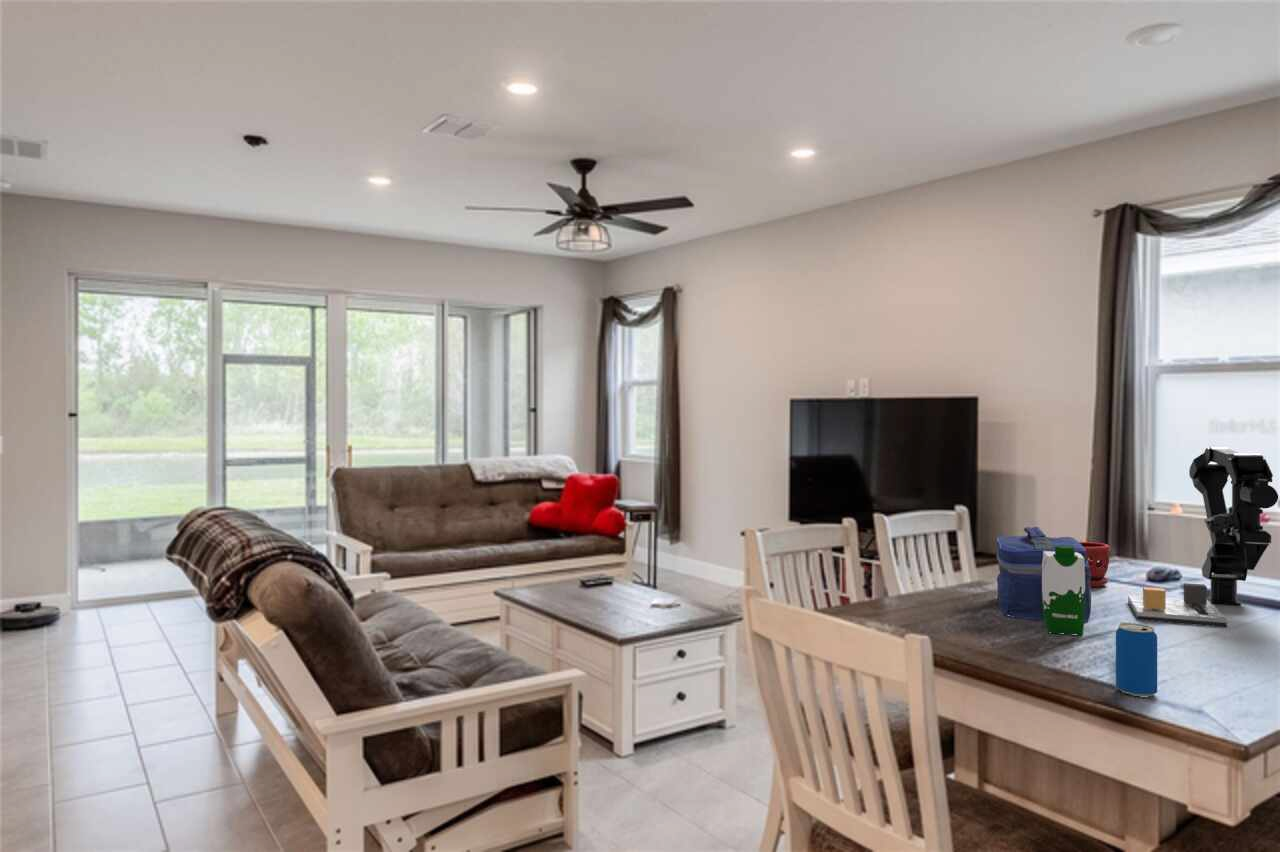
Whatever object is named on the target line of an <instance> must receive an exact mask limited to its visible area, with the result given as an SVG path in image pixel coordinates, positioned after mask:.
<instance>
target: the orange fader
mask: <svg viewBox="0 0 1280 852" xmlns="http://www.w3.org/2000/svg"><path fill="white" fill-rule="evenodd" d="M1142 596H1143V606H1144V608H1151V611H1157V609H1164V610H1166V598H1167V597H1166V589H1165V588H1161V587H1146V586H1143V587H1142Z"/></svg>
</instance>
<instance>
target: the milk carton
mask: <svg viewBox="0 0 1280 852" xmlns="http://www.w3.org/2000/svg"><path fill="white" fill-rule="evenodd" d="M1042 610H1043V616H1044V620H1043V621H1044V623H1043V624H1044V627H1045V626H1046V627H1045V628H1047V629H1046V630H1048V631H1047V632H1048V633H1049V632H1051V633H1064V634H1077V635H1076V636H1079V635H1083V634H1084V627H1085V626H1084V625H1085V621H1084V619H1085V561H1084V557H1083V556H1082V555H1081V554H1079V553H1076V552H1075V548H1074V547H1072V546H1064V545H1058V546H1055V552H1051V551H1043V560H1042ZM1064 634H1063V635H1064Z"/></svg>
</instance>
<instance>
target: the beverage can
mask: <svg viewBox="0 0 1280 852" xmlns="http://www.w3.org/2000/svg"><path fill="white" fill-rule="evenodd" d="M1134 623H1135V622H1126V623H1123V624H1121V623H1119V624H1118V628H1117V629H1116V630H1115V687H1116V689H1118V690H1121V691H1122V692H1124V693H1127V694H1131V695H1136V696H1151V695H1152V696H1154V695H1155V694H1158V635H1157V633H1156V632H1155V628H1154V627H1153V626H1150V625H1145V624H1142V623H1135V624H1134ZM1121 691H1120V692H1121ZM1122 692H1121V693H1122ZM1124 693H1123V694H1124ZM1152 696H1151V697H1152Z"/></svg>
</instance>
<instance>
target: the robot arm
mask: <svg viewBox="0 0 1280 852" xmlns="http://www.w3.org/2000/svg"><path fill="white" fill-rule="evenodd" d="M1188 474H1189V478H1190V479H1191V480H1192V484H1193V487H1194V488H1195V489H1196V490H1197V491H1198V492H1199V493H1200V494H1201V495H1202V498H1203V504H1204V509H1205V516H1206V517H1205V518H1204V519H1203V520H1204V523H1205V526H1206V528H1207V530H1208V532H1209V536H1210V540H1211V546H1210V547H1209V549H1208V552H1207V553H1206V559H1205V561H1204V563H1203V565H1202V567H1201V575H1202V577H1203V578H1205V579H1207V580H1210V596H1207V601H1210V602H1211V603H1212V604H1223V605H1235V606H1237V605H1238V606H1241V605H1242V602H1240V601H1239V600H1238V581H1240V582H1241V581H1242V582H1246V580H1247V578H1248V577H1247V576H1248V570H1249V571H1254V570H1255V569H1256V566H1257V564H1258V563H1259V561H1260V559H1262V556H1263V555H1264V553H1265V551H1266V549H1267V548H1268V547H1269V546H1270V544H1272V535H1271V534H1270V533H1269V532H1268V531H1266V530H1264V529H1263V528H1264V527H1263V525H1261V514H1263V513H1264V509H1269V508H1272V507H1274V506H1275V505H1276V504H1277V502H1278V500H1279V494H1278V492H1277V490H1276V488H1274V487H1273V486H1271V485H1269V483H1272V482H1273V476H1274V475H1273V473H1272V470H1271V468H1270V465H1269V463H1268V462H1267V460H1266V458H1265V456H1264V455H1262V454H1261V453H1241V452H1238V451H1236V450H1233V449H1230V448H1229V447H1226V446H1209V447H1206V448H1205V450H1204V452H1203V453H1202V454H1200V455H1199V456H1197V457H1195V458H1193V460H1192V462H1191V464H1190V467H1189V473H1188ZM1229 477H1230V479H1231V481H1230V484H1232V485H1231V506H1230V507H1228V509H1227V505H1226V500H1225V495H1224V491H1223V490H1224V488H1225V487H1226V485H1227V483H1228V481H1229V480H1228V479H1229Z"/></svg>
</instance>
